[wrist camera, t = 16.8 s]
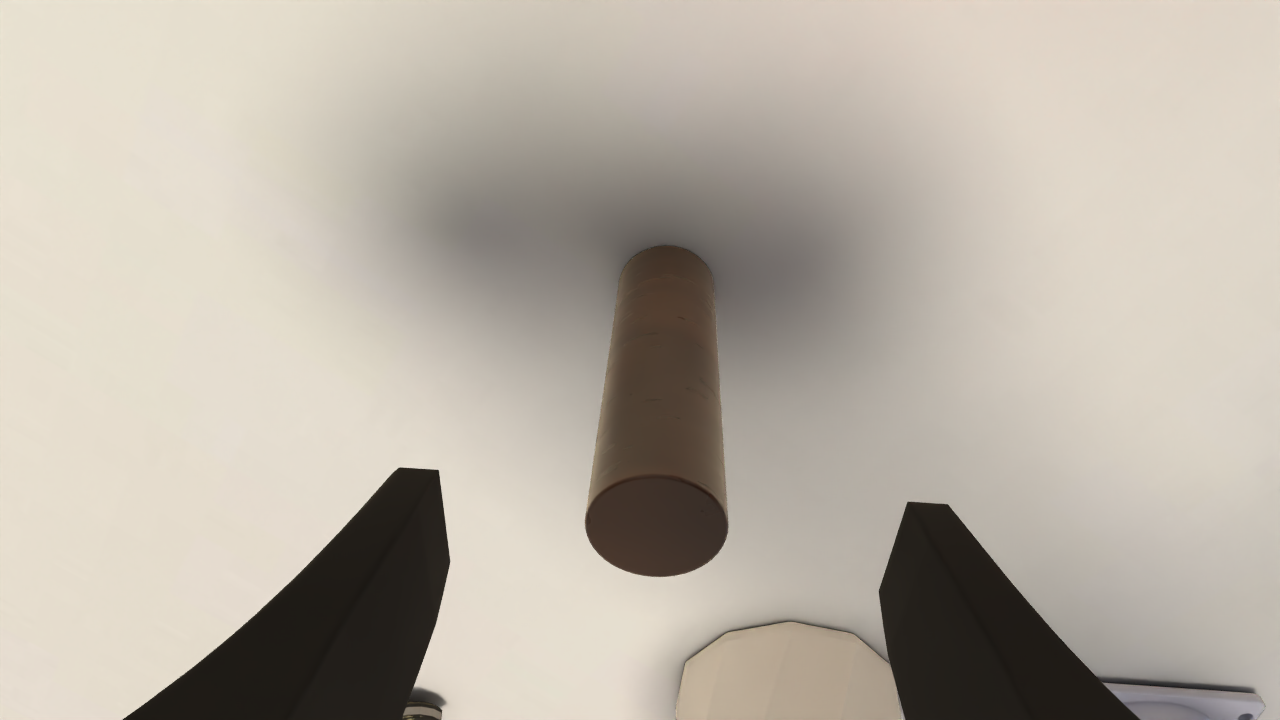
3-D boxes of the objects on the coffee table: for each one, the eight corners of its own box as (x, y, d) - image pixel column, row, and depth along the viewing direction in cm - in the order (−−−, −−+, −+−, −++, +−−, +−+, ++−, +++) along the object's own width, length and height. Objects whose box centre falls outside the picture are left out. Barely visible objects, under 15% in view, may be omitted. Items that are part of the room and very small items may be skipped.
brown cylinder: (636, 338, 23) (613, 589, 15) (605, 259, 22) (562, 493, 14) (725, 314, 22) (744, 563, 15) (698, 233, 21) (705, 461, 14)
